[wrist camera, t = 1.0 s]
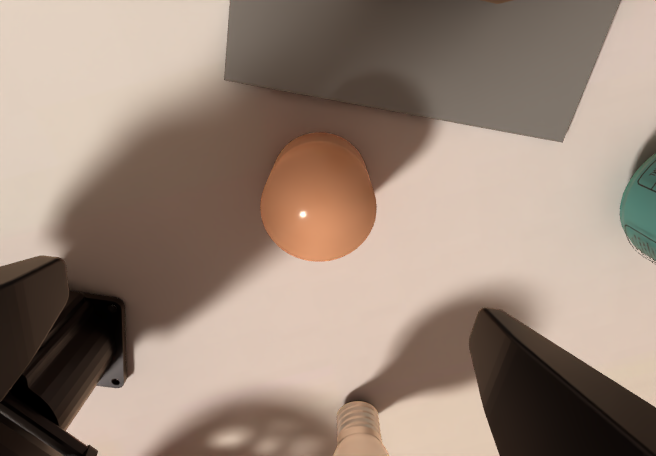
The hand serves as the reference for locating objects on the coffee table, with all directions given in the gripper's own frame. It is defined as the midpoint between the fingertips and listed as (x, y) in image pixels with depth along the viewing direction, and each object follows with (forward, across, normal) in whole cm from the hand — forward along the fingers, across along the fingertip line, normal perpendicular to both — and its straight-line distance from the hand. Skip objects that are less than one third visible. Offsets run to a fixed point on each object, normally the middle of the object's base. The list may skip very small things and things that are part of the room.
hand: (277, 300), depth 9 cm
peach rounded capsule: (+13, -1, +1) cm, 13 cm away
